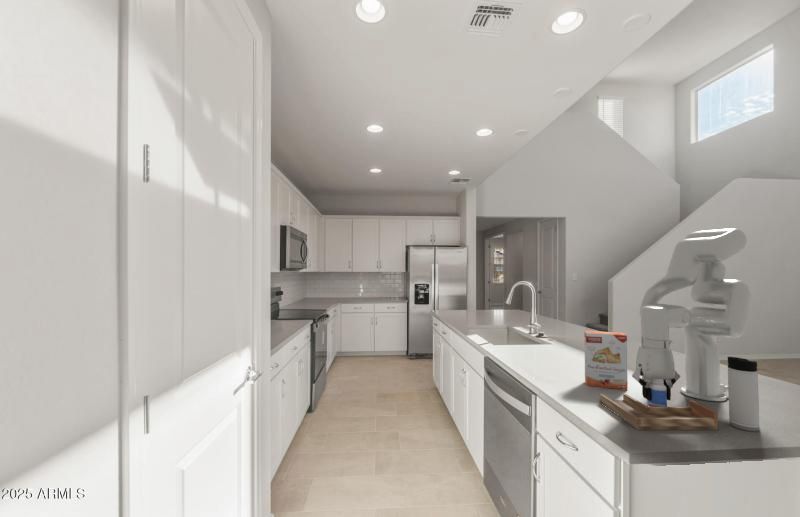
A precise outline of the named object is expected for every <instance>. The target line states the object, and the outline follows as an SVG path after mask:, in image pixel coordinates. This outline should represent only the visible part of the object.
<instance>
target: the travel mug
mask: <svg viewBox="0 0 800 517" xmlns="http://www.w3.org/2000/svg"><path fill="white" fill-rule="evenodd" d="M727 384H728V385H727V386H728V391H727V393H728V411H729V412H728V418H729V424H730V425H731V426H732V427H734V428H737V429H739V430H742V431H746V432H759V431H760V404H759V402H760V401H759V399H760V398H759V374H758V362H757V361H755V360H748V359H747V358H742V357H735V356H727Z"/></svg>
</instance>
